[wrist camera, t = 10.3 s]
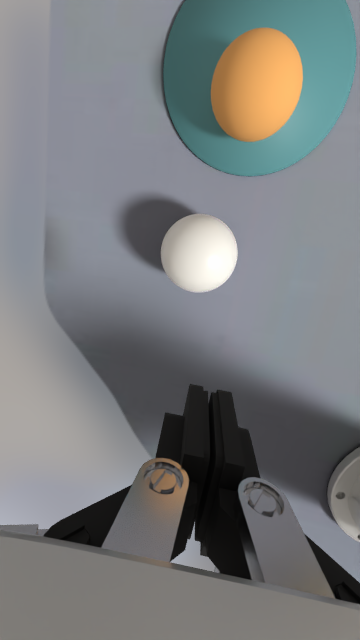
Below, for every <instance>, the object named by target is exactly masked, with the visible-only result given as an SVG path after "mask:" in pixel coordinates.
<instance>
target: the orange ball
mask: <svg viewBox="0 0 360 640" xmlns="http://www.w3.org/2000/svg"><path fill="white" fill-rule="evenodd" d="M302 82H303V69H302V63H301V58H300V55H299V52H298V50H297V48H296V47H295V45H294V43H293V42H292V41H291V40H290V39H289V38H288V37H287V36H286V35H285V34H284V33H282V32H280V31H278V30H276V29H272V28H255V29H252V30H249V31H247V32H245V33H243V34H242V35H240V36H239V37H237V38H236V39H235V40H234V41H233V42H232V43H231V44H230V45H229V46H228V47H227V48H226V50H225V51H224V52H223V54H222V56H221V57H220V59H219V61H218V63H217V66H216V68H215V71H214V75H213V79H212V84H211V103H212V109H213V112H214V115H215V118H216V120H217V122H218V123H219V125H220V127H221V128H222V129H223V130H224V131H225V132H226V133H227V134H228V135H229V136H231V137H233V138H234V139H237V140H239V141H244V142H255V141H259V140H263V139H265V138H268V137H269V136H271V135H273V134H274V133H276V132H277V131H278V130H279V129H280V128H281V127H282V126H283V125H284V124H285V123H286V122H287V121H288V119H289V118H290V116H291V115H292V113H293V111H294V110H295V108H296V105H297V103H298V100H299V97H300V94H301V89H302Z"/></svg>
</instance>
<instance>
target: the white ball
mask: <svg viewBox="0 0 360 640" xmlns="http://www.w3.org/2000/svg"><path fill="white" fill-rule="evenodd" d="M237 252H238V250H237V244H236V240H235V237H234V235H233V233H232V231H231V230H230V229H229V227H228V226H227V225H226V224H225V223H224V222H222V221H221V220H219V219H218V218H216V217H213V216H211V215H207V214H193V215H189V216H186V217H184V218H182V219H180V220H178V221H177V222H176V223H174V224H173V225H172V226H171V228H170V229H169V230H168V231H167V233H166V235H165V237H164V239H163V242H162V246H161V261H162V265H163V268H164V270H165V272H166V274H167V276H168V277H169V278H170V280H171V281H172V282H173V283H174V284H176V285H177V286H179V287H180V288H182V289H184V290H187V291H190V292H207V291H210V290H213V289H215V288H217V287H219V286H220V285H222V284H223V283H224V282H225V281H226V280H227V279H228V278H229V277H230V275H231V274H232V272H233V270H234V268H235V265H236V262H237Z"/></svg>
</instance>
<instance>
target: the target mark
mask: <svg viewBox="0 0 360 640" xmlns="http://www.w3.org/2000/svg"><path fill="white" fill-rule="evenodd" d="M255 28H272V29H276V30H278V31H280V32H282V33H284V34H285V35H286V36H287V37H288V38H289V39H290V40H291V41H292V42H293V43H294V45H295V47H296V48H297V50H298V52H299V55H300V58H301V63H302V69H303V82H302V89H301V94H300V97H299V100H298V103H297V105H296V108H295V110H294V111H293V113H292V115H291V116H290V118H289V119H288V121H287V122H286V123H285V124H284V125H283V126H282V127H281V128H280V129H279V130H278V131H277V132H276V133H274V134H273V135H271V136H269V137H268V138H265V139H263V140H259V141H255V142H244V141H239V140H237V139H234V138H233V137H231V136H229V135H228V134H227V133H226V132H225V131H224V130H223V129H222V128H221V127H220V125H219V123H218V122H217V120H216V118H215V115H214V112H213V109H212V103H211V84H212V79H213V75H214V71H215V68H216V66H217V63H218V61H219V59H220V57H221V56H222V54H223V52H224V51H225V50H226V48H227V47H228V46H229V45H230V44H231V43H232V42H233V41H234V40H235V39H236V38H237V37H239V36H240V35H242V34H243V33H245V32H247V31H249V30H252V29H255ZM355 64H356V36H355V30H354V24H353V20H352V17H351V13H350V10H349V7H348V5H347V3H346V1H345V0H185V2H184V3H183V5H182V7H181V9H180V11H179V13H178V15H177V16H176V18H175V21H174V24H173V26H172V29H171V31H170V35H169V38H168V42H167V46H166V51H165V58H164V71H163V79H164V92H165V97H166V103H167V107H168V110H169V113H170V117H171V119H172V121H173V124H174V126H175V128H176V130H177V132H178V134H179V135H180V137H181V139H182V140H183V142H184V143H185V144H186V145H187V147H188V148H189V149H190V150H191V151H192V152H193V153H194V154H195V155H196V156H197V157H198V158H199V159H201V160H202V161H203V162H205V163H206V164H208V165H210V166H211V167H213V168H215V169H217V170H220V171H222V172H225V173H228V174H233V175H238V176H261V175H266V174H270V173H274V172H277V171H279V170H282V169H285V168H287V167H289V166H291V165H292V164H294V163H296V162H298V161H299V160H300V159H302V158H303V157H305V156H306V155H307V154H309V153H310V152H311V151H312V150H313V149H314V148H315V147H317V146H318V144H319V143H320V142H321V141H322V140H323V139H324V138H325V137H326V136H327V134H328V133H329V131H330V130H331V129H332V127H333V126H334V125H335V123H336V121H337V119H338V118H339V116H340V114H341V112H342V110H343V108H344V106H345V103H346V101H347V99H348V96H349V93H350V89H351V86H352V82H353V77H354V72H355Z"/></svg>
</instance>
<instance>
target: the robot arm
mask: <svg viewBox="0 0 360 640" xmlns="http://www.w3.org/2000/svg"><path fill="white" fill-rule="evenodd" d="M327 497H328V505H329V507H330V510H331V512H332V514H333V516H334V518H335V520H336V522H337V524H338V525H339V527H340V528H341V529H342V530H343V531H344V532H345V533H346V534H347V535H349V536H350V537H351V538H353V539H354V540H356V541H358V542H360V447H359V448H357V449H355V450H354V451H353V452H351V453H350V454H349V455H347V456H346V457H345V458H344V459H343V460H342V461H341V462H340V463H339V465H338V466H337V467H336V469H335V471H334V472H333V474H332V476H331V479H330V481H329V484H328V492H327ZM194 522H195V541H200V542H201V550H200V551H201V553H200V555H203V556H207V557H209V559H210V560H211V561H212V562H213V563H214V565H215V569H214V572H212V571H207V570H202V569H198V568H193V567H188V566H184V565H179V564H175V563H170V561H171V560H173V559H174V558H175V557H176V556H178V555H179V554H180V553H182V552H183V551H184V550H185V547H186V543H187V539H190V538H191V534H192V530H193V526H194ZM0 640H360V583H359V582H358V581H357V580H356V579H354V578H353V577H352V576H351V575H350V574H349V573H348V572H347V571H346V570H344V569H343V568H342V567H341V566H340V565H339V564H338V563H337V562H335V561H334V560H333V559H332V558H331V557H330V556H329V555H328V554H326V553H325V552H324V551H323V550H322V549H321V548H320V547H319V546H317V545H316V544H315V543H314V542H313V541H312V540H311V539H310V538H308V537H307V536H306V535H305V534H304V533H303V530H302V528H301V526H300V524H299V522H298V520H297V518H296V516H295V514H294V512H293V510H292V508H291V506H290V504H289V502H288V500H287V498H286V497H285V495H284V493H283V492H282V491H281V490H280V489H279V488H278V487H276V486H275V485H274V484H272V483H271V482H269V481H266V480H264V479H261V478H260V475H259V471H258V467H257V463H256V459H255V455H254V451H253V446H252V442H251V438H250V434H249V431H248V430H247V429H243V428H238V425H237V419H236V414H235V409H234V403H233V398H232V393H231V392H227V391H222V390H217V392H216V393H214V392H212V393H211V396H210V400H209V404H208V391H204V390H203V387H202V386H197V385H192V384H190V386H189V390H188V395H187V400H186V404H185V409H184V414H183V416H180V415H175V414H170V413H165V417H164V421H163V426H162V430H161V435H160V439H159V444H158V449H157V453H156V458H155V459H152V460H149V461H147V462H146V463H144V464H143V465H142V467H141V468H140V470H139V472H138V474H137V476H136V478H135V480H134V482H133V484H132V485H131V486H129V487H127V488H125V489H123V490H121V491H119V492H117V493H115V494H113V495H110V496H108V497H106V498H105V499H103V500H101V501H99V502H97V503H94V504H92V505H90V506H88V507H87V508H84V509H82V510H80V511H78V512H76V513H75V514H72V515H70V516H68V517H66V518H65V519H62V520H60V521H59V522H57V523H56V524H54V525H53V526H51V527H50V529H42V530H41V529H40V530H39V529H38V524H36V525H0Z"/></svg>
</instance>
